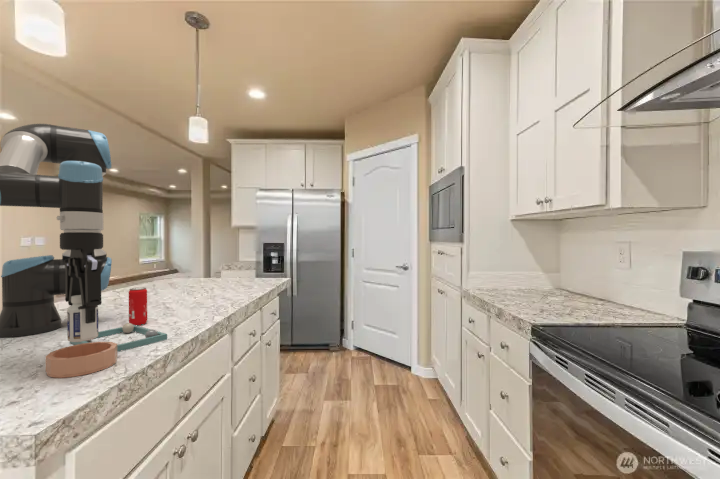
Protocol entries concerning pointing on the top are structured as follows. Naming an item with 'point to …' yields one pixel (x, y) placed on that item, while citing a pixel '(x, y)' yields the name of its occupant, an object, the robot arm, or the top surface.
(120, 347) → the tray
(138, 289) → the beverage can
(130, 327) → the pebble
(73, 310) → the pill bottle
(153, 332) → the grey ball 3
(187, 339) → the top surface
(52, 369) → the bowl
